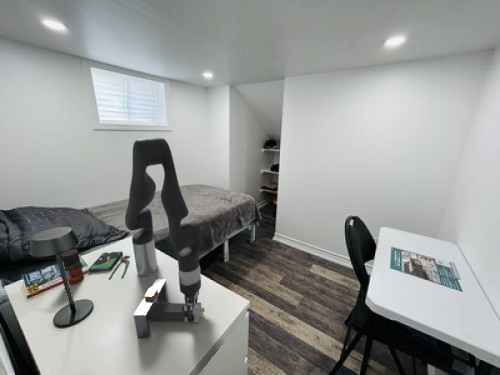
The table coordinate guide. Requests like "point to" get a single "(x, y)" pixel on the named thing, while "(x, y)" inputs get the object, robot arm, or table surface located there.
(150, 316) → the grey two-tone block
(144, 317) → the u-shaped bracket
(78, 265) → the deodorant
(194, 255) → the robot arm
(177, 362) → the table surface
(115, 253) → the disk drive
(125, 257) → the pliers
